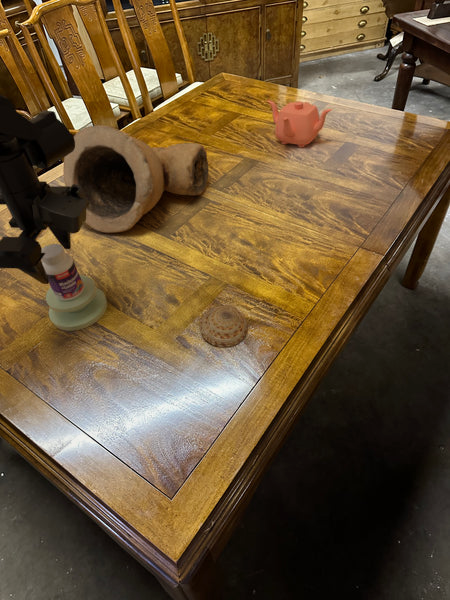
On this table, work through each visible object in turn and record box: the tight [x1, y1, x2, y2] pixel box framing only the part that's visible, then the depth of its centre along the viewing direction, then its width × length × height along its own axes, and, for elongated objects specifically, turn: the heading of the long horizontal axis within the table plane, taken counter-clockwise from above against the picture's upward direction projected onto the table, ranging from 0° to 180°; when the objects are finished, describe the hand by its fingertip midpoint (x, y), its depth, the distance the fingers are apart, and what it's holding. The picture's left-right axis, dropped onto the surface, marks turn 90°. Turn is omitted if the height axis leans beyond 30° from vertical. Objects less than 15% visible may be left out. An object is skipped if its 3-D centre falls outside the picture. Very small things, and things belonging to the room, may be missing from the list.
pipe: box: [62, 124, 209, 234], centre depth 103 cm, size 23×29×30 cm
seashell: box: [199, 304, 248, 348], centre depth 74 cm, size 8×6×8 cm
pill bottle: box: [41, 243, 84, 301], centre depth 75 cm, size 5×5×10 cm
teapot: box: [267, 100, 333, 148], centre depth 121 cm, size 14×14×11 cm
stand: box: [45, 274, 108, 332], centre depth 80 cm, size 11×11×5 cm
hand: (57, 265), depth 72 cm, fingers open, 9 cm apart
